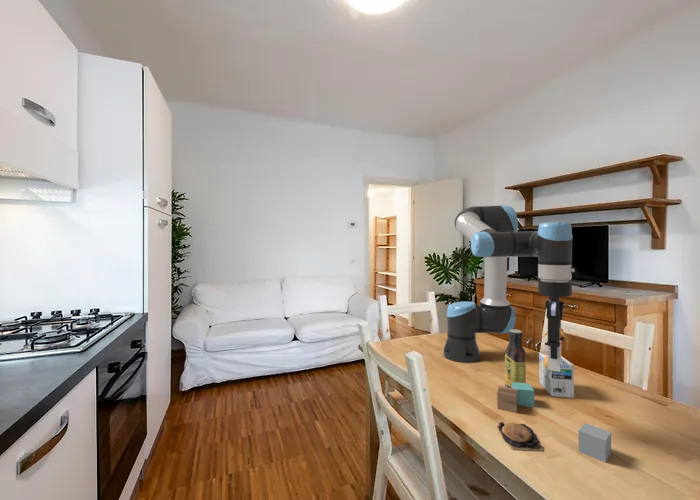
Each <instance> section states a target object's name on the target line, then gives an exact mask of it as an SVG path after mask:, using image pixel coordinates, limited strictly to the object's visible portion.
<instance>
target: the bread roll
mask: <svg viewBox="0 0 700 500" xmlns="http://www.w3.org/2000/svg"><path fill="white" fill-rule="evenodd" d="M498 424H499V425H497V429H498V432H499V433H500V435H501V436H502V439H503V441H504V442H505V443H506V444H507V445H508V446H509V447H510V449H511V450H512V451H522V452H541V453H542V452H545V451H544V447H542V445H541V442H540V441H538V437H537V435H535V432H534V430H533V429H532V428H531V427H530V426H528V425H526V424H525V423H517V422H512V423H511V422H510V423H504V422H503V421H501V422H499V423H498Z"/></svg>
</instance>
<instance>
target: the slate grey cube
mask: <svg viewBox="0 0 700 500" xmlns="http://www.w3.org/2000/svg"><path fill="white" fill-rule="evenodd" d="M578 452H579V453H581V454H584V455H586V456H588V457H590V458H593V459H596V460H598V461H601V462H603V463H607V461H608V459H609V458H610V456H611V454H612V432H611V431H609V430H606V429H605V428H600V427H598V426H595V425H593V424H589V423H586V422H584V423H583V425H582V426H580V428H579V429H578Z"/></svg>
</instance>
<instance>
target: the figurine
mask: <svg viewBox="0 0 700 500" xmlns="http://www.w3.org/2000/svg"><path fill="white" fill-rule="evenodd" d="M546 336H548V330H547V332H545V333H544V334H543V336H542V338H541V340H543V339H544V337H546ZM561 337H564V339H565V345H566V346H564V349H565V351H566V352H567V351H569V337H568V336H567V334H566V333H565V332H564V329H563V328H562V327H561V328H560V338H561ZM560 344H561V345H562V341H561V342H560ZM543 365H544V366H545V368H546V369H548V356H546V357H545V358H544V359H543ZM550 371H553V370H550Z"/></svg>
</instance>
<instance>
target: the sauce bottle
mask: <svg viewBox="0 0 700 500" xmlns="http://www.w3.org/2000/svg"><path fill="white" fill-rule="evenodd" d="M526 354H527V353H526V350H525V347H524V346H523V331H522V330H520V329H516V328H515V329H514V328H513V329H511V330H509V333H508V344H507V347H506V349H505V352H504V387H508V388H512V382H517V383H527V381H526V378H527V377H526V376H527V359H526V357H527V355H526Z"/></svg>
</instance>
